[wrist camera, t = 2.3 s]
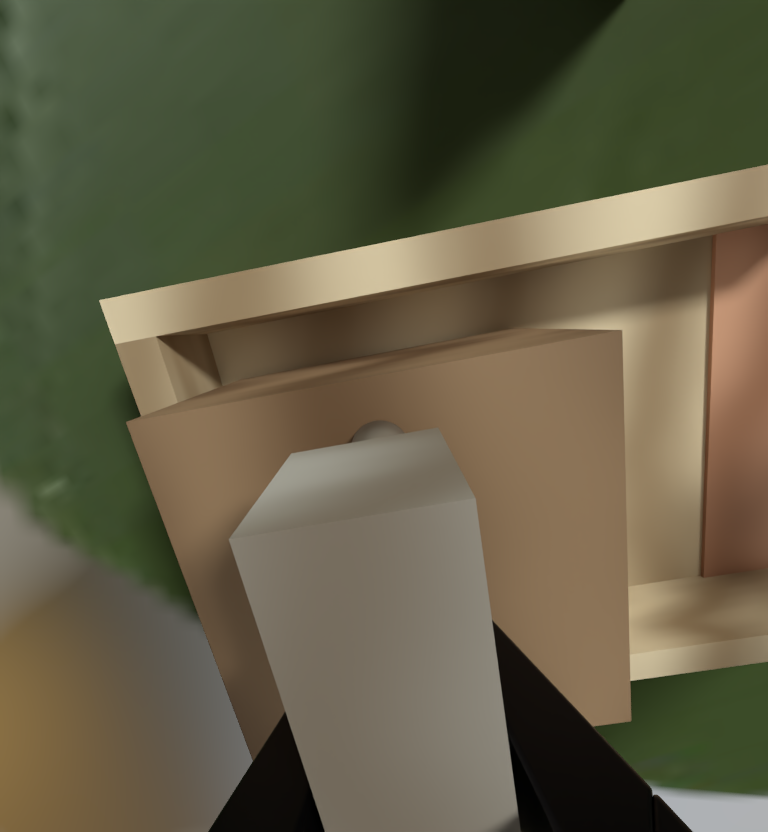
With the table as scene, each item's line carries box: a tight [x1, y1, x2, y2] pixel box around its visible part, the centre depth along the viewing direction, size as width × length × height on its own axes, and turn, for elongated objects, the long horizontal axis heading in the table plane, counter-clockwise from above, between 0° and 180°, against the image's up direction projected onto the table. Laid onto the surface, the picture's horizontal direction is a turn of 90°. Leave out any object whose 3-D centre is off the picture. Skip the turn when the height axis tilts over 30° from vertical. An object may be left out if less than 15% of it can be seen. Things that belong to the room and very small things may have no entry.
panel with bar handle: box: [126, 328, 631, 832], centre depth 9 cm, size 10×10×10 cm
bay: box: [99, 165, 768, 681], centre depth 13 cm, size 22×16×4 cm
